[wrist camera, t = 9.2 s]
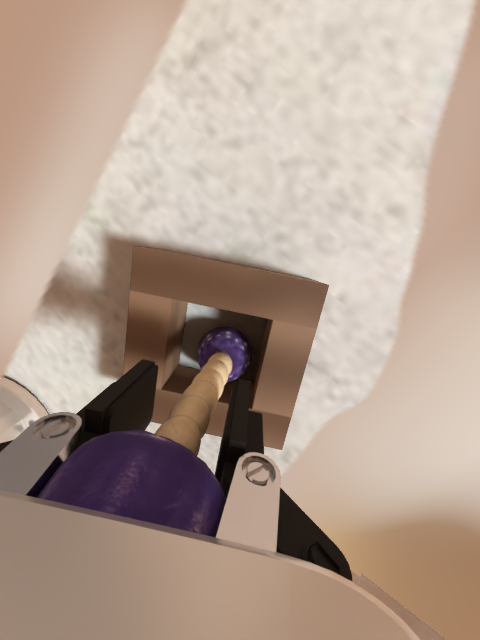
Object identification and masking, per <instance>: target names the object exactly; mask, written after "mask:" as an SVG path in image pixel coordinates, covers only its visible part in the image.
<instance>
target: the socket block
mask: <svg viewBox="0 0 480 640" xmlns="http://www.w3.org/2000/svg"><path fill="white" fill-rule="evenodd" d="M328 287H329V285H327V284H324V283H321V282H318V281H315V280H311V279H307V278H302V277H297V276H292V275H287V274H282V273H277V272H272V271H267V270H262V269H257V268H252V267H247V266H242V265H237V264H232V263H227V262H222V261H217V260H213V259H208V258H203V257H198V256H193V255H188V254H183V253H178V252H173V251H168V250H163V249H157V248H149V247H140V246H133V258H132V270H131V283H130V295H129V308H128V320H127V332H126V345H125V357H124V369H123V375H124V374H125V373H127V372H128V371H129V370H130V369H131V368H132V367H134V366H135V365H136V364H137V363H138V362H139V361H141V360H142V359H144V360H149V361H154V362H155V365H158V376H157V384H156V392H155V400H154V409H153V416H152V419H151V421H150V422H155V423H159V424H163V423H165V422H166V421H167V420H168V416H169V414H170V412H171V410H172V409H173V407H174V406H175V405H176V404H177V403H178V402H179V401H180V400H181V397H182V395H183V393H184V391H185V390H186V389H187V388H188V387H189V386H190V385H191V384H192V381H193V380H194V378H195V377H196V375H197V374H199V373H200V371H201V370H198V369H193V368H188V367H184V366H179V360H180V353H181V346H182V339H183V332H184V325H185V318H186V311H187V304H188V302H189V303H194V304H199V305H204V306H209V307H214V308H218V309H223V310H228V311H233V312H238V313H243V314H247V315H252V316H257V317H262V318H267V323H266V327H265V332H264V336H263V340H262V345H261V349H260V353H259V358H258V362H257V366H256V371H255V375H254V380H253V381H250V380H245V379H240V378H238V379H236V380H233V381H229V382H226V384H225V385H224V389H223V393H222V395H221V397H220V398H219V399H218V402H217V406H216V409H215V411H214V413H213V414H212V415H211V417H210V422H209V425H208V428H207V431H206V434H210V435H215V436H219V437H222V435H223V430H224V426H225V421H226V416H227V411H228V406H229V402H230V397H231V392H232V387H233V382H238V380H239V379H240V380H245V381H249V382H250V392H249V411H254V412H259V413H262V417H263V442H264V446H266V447H270V448H275V449H279V450H282V448H283V444H284V441H285V437H286V434H287V430H288V427H289V423H290V420H291V416H292V413H293V409H294V406H295V402H296V399H297V395H298V392H299V389H300V385H301V382H302V378H303V375H304V371H305V368H306V364H307V361H308V357H309V354H310V350H311V347H312V343H313V340H314V336H315V333H316V329H317V326H318V322H319V319H320V315H321V312H322V308H323V305H324V301H325V298H326V294H327V291H328Z"/></svg>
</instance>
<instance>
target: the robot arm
mask: <svg viewBox="0 0 480 640" xmlns="http://www.w3.org/2000/svg"><path fill="white" fill-rule="evenodd" d="M157 376H158V365H155V362H154V361H149V360H144V359H142V360H141V361H139V362H138V363H137V364H136V365H135V366H134V367H132V368H131V369H130V370H129V371H128V372H127V373H125V374H124V375H123V376H122V377H121V378H120V379H119V380H117V381H116V382H114V383H112V384H111V385H110V386H109V387H107V388H106V389H105V390H104V391H103V392H101V393H100V394H99V395H98V396H97V397H96V398H94V399H93V400H92V401H91V402H90V403H89V404H87V405H86V406H85V407H84V408H83V409H82V410H80V411H79V412H78V413H77V414H74V413H70V412H59V413H53V414H50V415H48V413H47V412H46V410H45V408H44V407H43V406H42V405H41V403H40V402H39V401H38V400H37V399H36V398H35V397H34V396H33V395H32V394H31V393H29V392H28V391H27V390H26V389H25V388H23V387H21V386H20V385H18V384H17V383H15V382H13V381H11V380H9V379H6V378H4V377H2V376H0V640H446V639H445V638H444V637H443V636H441V635H440V634H439V633H438V632H436V631H435V630H434V629H432V628H431V627H430V626H428V625H427V624H426V623H425V622H423V621H422V620H421V619H419V618H418V617H417V616H416V615H414V614H413V613H412V612H411V611H409V610H408V609H407V608H405V607H404V606H403V605H402V604H400V603H399V602H398V601H397V600H395V599H394V598H393V597H391V596H390V595H389V594H388V593H386V592H385V591H384V590H382V589H381V588H380V587H379V586H377V585H376V584H375V583H373V582H372V581H371V580H370V579H368V578H367V577H366V576H364V575H363V574H361V575H360V577H358V576H357V575H356V574H354V573H353V572H352V571H351V570H350V567H349V564H348V562H347V560H346V558H345V557H344V555H343V553H342V552H341V551H340V550H339V548H338V547H337V546H336V545H335V544H334V543H333V542H332V541H331V540H330V539H329V538H328V537H327V535H325V533H324V532H323V531H322V530H321V529H320V528H319V527H318V526H317V525H316V524H315V523H314V522H313V521H312V520H311V519H310V518H309V517H308V516H307V515H306V514H305V513H304V512H303V511H302V510H301V509H300V508H299V507H298V505H297V504H296V503H295V502H294V501H293V500H292V499H291V498H290V497H289V496H288V495H287V494H286V493H285V492H284V491H283V490H282V489H281V488H280V481H281V476H280V470H279V468H278V466H277V465H276V463H275V462H274V461H273V460H272V459H270V458H269V457H268V456H266V455H264V442H263V417H262V413H259V412H254V411H249V392H250V382H249V381H245V380H240V379H239V380H238V382H233V387H232V392H231V397H230V402H229V406H228V411H227V416H226V421H225V426H224V430H223V435H222V440H221V446H220V451H219V456H218V461H217V466H216V471H215V477H216V479H217V480H218V482H219V483H220V485H221V488H222V490H223V493H224V495H225V497H226V504H225V507H224V511H223V514H222V518H221V521H220V524H219V528H218V531H217V535H216V538H215V537H211V536H207V535H202V534H198V533H193V532H189V531H185V530H180V529H176V528H171V527H167V526H163V525H158V524H154V523H149V522H145V521H140V520H136V519H131V518H127V517H122V516H118V515H113V514H109V513H104V512H100V511H95V510H91V509H86V508H81V507H77V506H72V505H68V504H63V503H59V502H54V501H49V500H45V499H40V498H37V497H38V495H39V494H40V492H41V491H42V489H43V488H44V487H45V485H46V484H47V482H48V481H49V480H50V478H51V477H52V476H53V474H54V473H55V471H56V470H57V469H58V467H59V466H60V465H61V464H62V463H63V462H64V461H65V460H66V459H67V457H69V456H70V455H71V454H72V453H73V452H74V451H75V450H76V449H77V448H78V447H79V446H81V445H82V444H84V443H86V442H88V441H90V440H91V439H93V438H95V437H97V436H101V435H104V434H107V433H110V432H118V431H133V430H142V431H145V429H146V428H147V426H148V425H149V423H150V421H151V419H152V416H153V409H154V400H155V392H156V384H157Z"/></svg>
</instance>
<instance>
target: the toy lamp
mask: <svg viewBox="0 0 480 640" xmlns="http://www.w3.org/2000/svg"><path fill="white" fill-rule="evenodd" d="M197 357H198V362H199V365H200V367H201V371H200V373H199V374H197V375H196V377H195V378H194V380H193V381H192V384H191V385H190V386H189V387H188V388H187V389H186V390H185V391H184V393H183V395H182V397H181V400H180V401H179V402H178V403H177V404H176V405H175V406H174V407H173V409H172V410H171V412H170V414H169V416H168V420H167V421H166V422H165V423H163V424H162V425H161V426H160V427H159V429H158V430H157V431H156V433H155V434H153V433H150V432H147V431H142V430H133V431H118V432H110V433H107V434H104V435H101V436H97V437H95V438H93V439H91V440H90V441H88V442H86V443H84V444H82V445H81V446H79V447H78V448H77V449H76V450H75V451H74V452H73V453H72V454H71V455H70V456H69V457H67V459H66V460H65V461H64V462H63V463H62V464H61V465H60V466H59V467H58V469H57V470H56V471H55V473H54V474H53V476H52V477H51V478H50V480H49V481H48V482H47V484H46V485H45V487H44V488H43V489H42V491H41V492H40V494H39V495H38V497H37V498H40V499H45V500H49V501H54V502H59V503H63V504H68V505H72V506H77V507H81V508H86V509H91V510H95V511H100V512H104V513H109V514H113V515H118V516H122V517H127V518H131V519H136V520H140V521H145V522H149V523H154V524H158V525H163V526H167V527H171V528H176V529H180V530H185V531H189V532H193V533H198V534H202V535H207V536H211V537H215V538H216V535H217V531H218V528H219V524H220V521H221V518H222V514H223V511H224V507H225V504H226V497H225V495H224V493H223V490H222V488H221V485H220V483H219V482H218V480H217V479H216V477H215V475H214V474H213V473H212V471H211V470H210V469H209V468H208V466H207V465H206V463H205V462H204V461H202V460H201V459H200V458H198V457H197V455H198V452H199V448H200V443H201V438H202V437H203V436H204V434H205V433H206V431H207V428H208V425H209V422H210V417H211V415H212V414H213V413H214V411H215V409H216V406H217V402H218V399H219V398H220V397H221V395H222V393H223V389H224V385H225V384H226V382H229V381H233V380H236V379H238V378H240V377H241V376H242V375H243V374H244V373H245V372H246V371H247V370H248V368H249V367H250V364H251V362H252V347H251V345H250V342H249V341H248V339H247V338H246V337H245V336H244V335H243V334H242V333H241V332H239V331H237V330H235V329H233V328H229V327H218V328H215V329H212V330H210V331H209V332H208V333H206V334H205V335H204V336H203V337H202V339H201V341H200V343H199V346H198V352H197Z"/></svg>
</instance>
